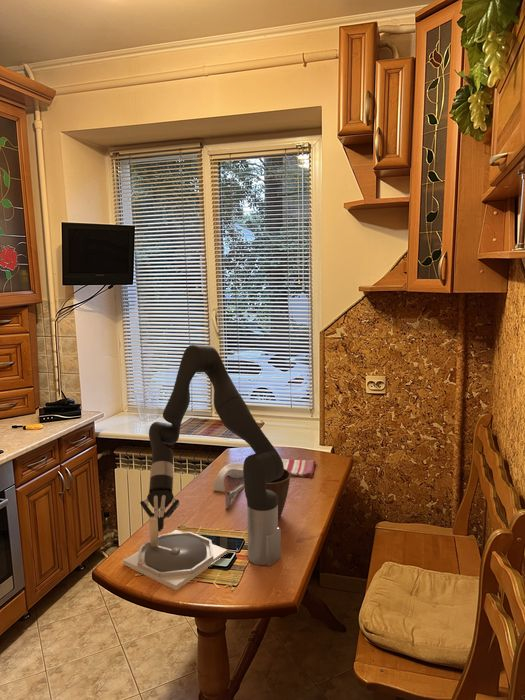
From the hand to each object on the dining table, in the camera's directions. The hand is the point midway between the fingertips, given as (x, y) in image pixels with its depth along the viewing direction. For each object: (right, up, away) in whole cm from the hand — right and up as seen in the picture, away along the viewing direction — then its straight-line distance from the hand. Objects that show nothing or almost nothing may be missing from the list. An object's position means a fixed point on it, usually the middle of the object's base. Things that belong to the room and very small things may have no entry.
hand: (158, 530), depth 161 cm
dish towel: (+43, +4, +65) cm, 78 cm away
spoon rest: (+20, +2, +53) cm, 57 cm away
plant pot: (+35, -3, +21) cm, 41 cm away
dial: (+6, -6, -5) cm, 10 cm away
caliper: (+22, -1, +38) cm, 44 cm away
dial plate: (+6, -7, -4) cm, 10 cm away
